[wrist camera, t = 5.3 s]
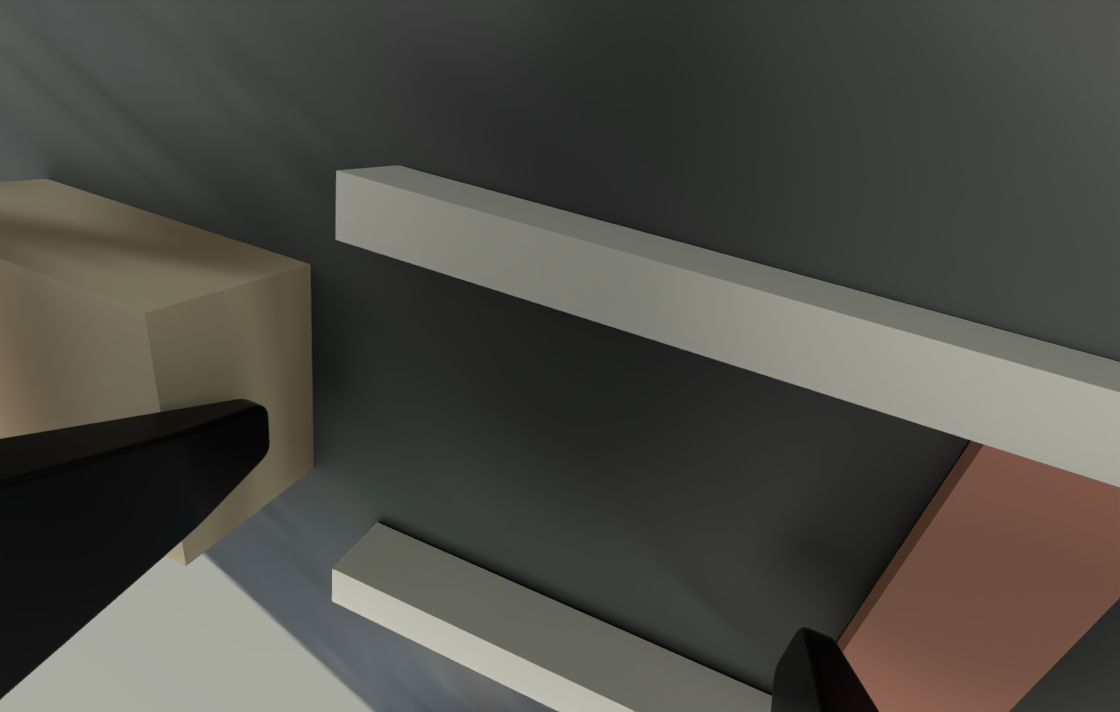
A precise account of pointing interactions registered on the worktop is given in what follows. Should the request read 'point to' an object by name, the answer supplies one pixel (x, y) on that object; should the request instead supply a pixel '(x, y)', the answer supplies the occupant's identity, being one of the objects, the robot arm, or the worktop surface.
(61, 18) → the worktop surface
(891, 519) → the worktop surface
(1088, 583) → the channel
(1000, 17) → the worktop surface
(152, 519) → the robot arm
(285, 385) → the birch block
